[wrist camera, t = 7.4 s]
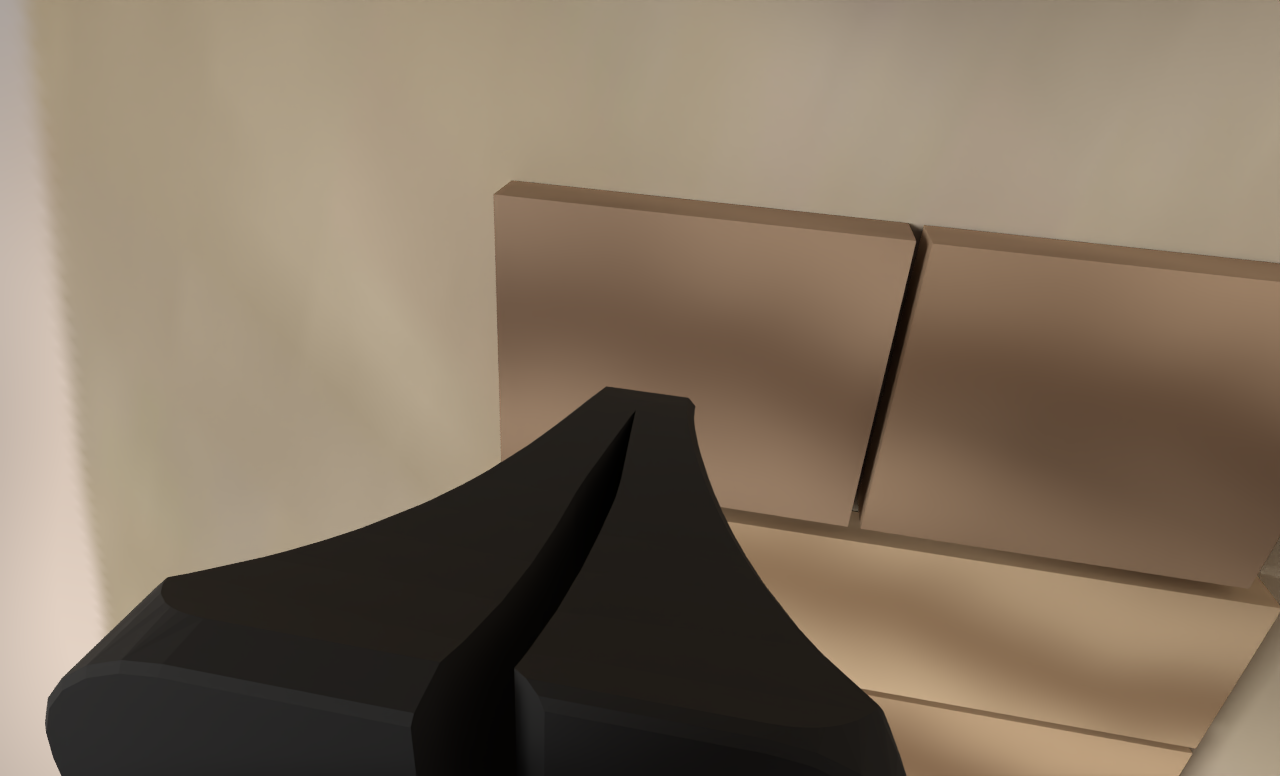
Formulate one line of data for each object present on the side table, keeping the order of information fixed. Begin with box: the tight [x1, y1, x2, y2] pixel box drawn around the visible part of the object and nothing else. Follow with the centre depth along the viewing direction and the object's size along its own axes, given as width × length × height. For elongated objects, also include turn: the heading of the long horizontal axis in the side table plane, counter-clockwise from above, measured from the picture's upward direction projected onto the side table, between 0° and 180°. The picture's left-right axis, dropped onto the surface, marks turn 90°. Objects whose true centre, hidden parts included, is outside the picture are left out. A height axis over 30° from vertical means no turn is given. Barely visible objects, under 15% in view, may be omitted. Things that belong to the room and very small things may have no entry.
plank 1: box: [494, 181, 916, 527], centre depth 18 cm, size 7×8×1 cm
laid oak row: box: [721, 507, 1280, 776], centre depth 22 cm, size 10×18×1 cm, turn 87°
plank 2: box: [857, 225, 1280, 589], centre depth 17 cm, size 7×8×1 cm
